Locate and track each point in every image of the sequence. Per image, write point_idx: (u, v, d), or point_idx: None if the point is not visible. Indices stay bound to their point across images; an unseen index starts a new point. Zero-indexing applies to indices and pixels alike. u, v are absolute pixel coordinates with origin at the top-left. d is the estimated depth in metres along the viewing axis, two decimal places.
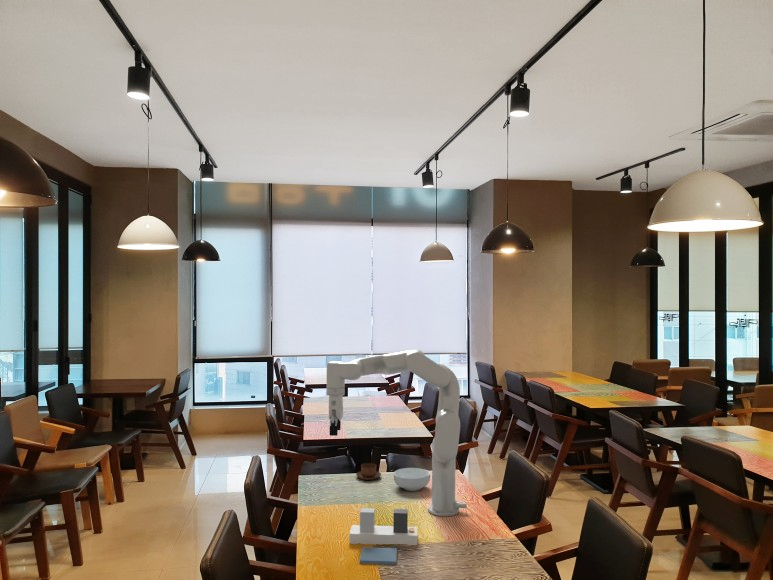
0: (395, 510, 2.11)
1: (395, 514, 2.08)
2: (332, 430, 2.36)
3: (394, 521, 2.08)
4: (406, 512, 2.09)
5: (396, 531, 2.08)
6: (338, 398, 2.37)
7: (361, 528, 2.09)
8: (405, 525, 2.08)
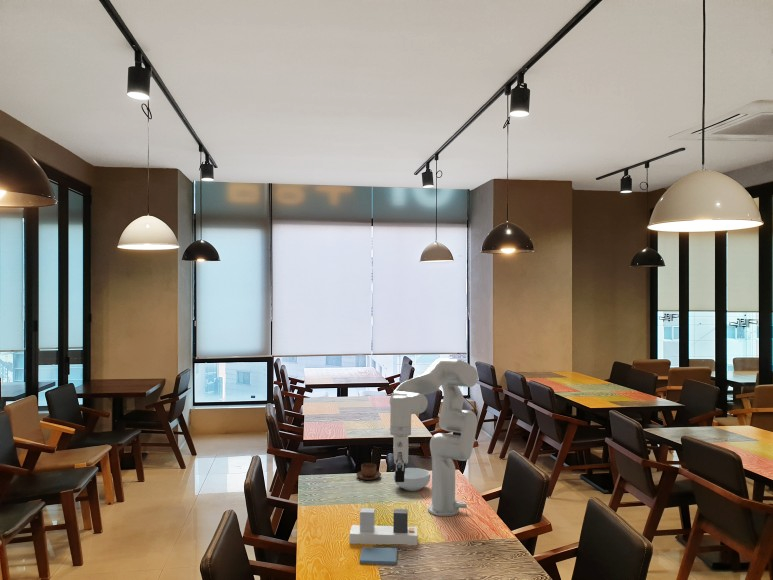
0: (395, 510, 2.11)
1: (395, 514, 2.08)
2: (398, 476, 2.05)
3: (394, 521, 2.08)
4: (406, 512, 2.09)
5: (396, 531, 2.08)
6: (405, 439, 2.06)
7: (361, 528, 2.09)
8: (405, 525, 2.08)
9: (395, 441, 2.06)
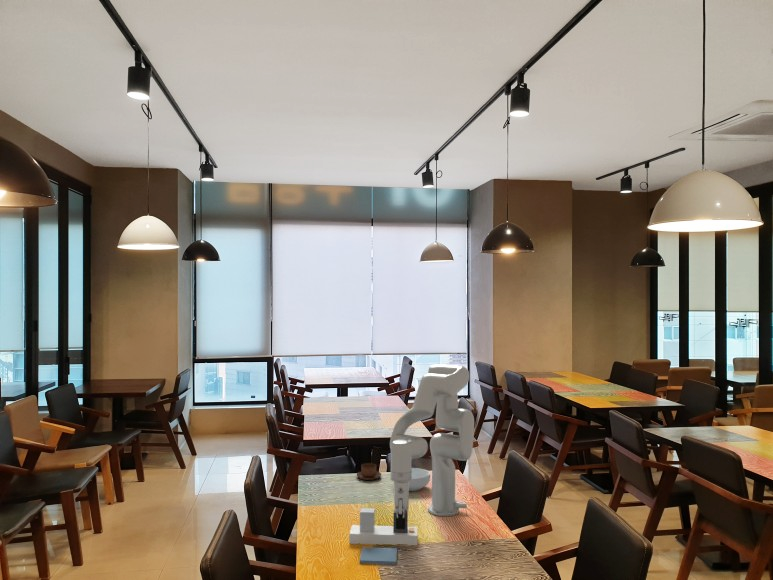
0: (395, 510, 2.11)
1: (395, 514, 2.08)
2: (399, 523, 2.07)
3: (394, 521, 2.08)
4: (406, 512, 2.09)
5: (396, 531, 2.08)
6: (405, 485, 2.06)
7: (361, 528, 2.09)
8: (405, 525, 2.08)
9: (396, 487, 2.06)
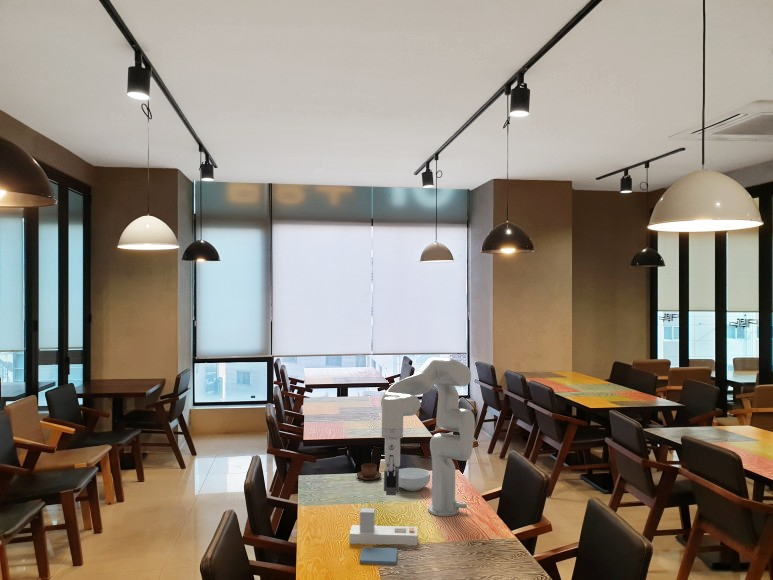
0: (386, 468, 2.05)
1: (386, 472, 2.02)
2: (390, 481, 2.01)
3: (385, 479, 2.02)
4: (397, 470, 2.03)
5: (387, 489, 2.02)
6: (396, 441, 2.00)
7: (361, 528, 2.09)
8: (396, 483, 2.02)
9: (386, 444, 2.00)
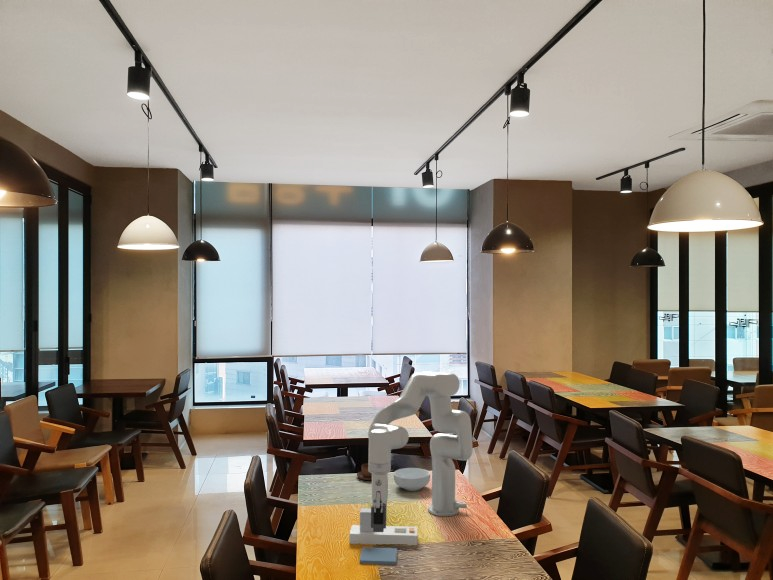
0: (373, 504, 1.97)
1: (373, 508, 1.94)
2: (377, 518, 1.93)
3: (372, 515, 1.94)
4: (385, 506, 1.95)
5: (374, 526, 1.94)
6: (384, 477, 1.92)
7: (361, 528, 2.09)
8: (383, 520, 1.94)
9: (373, 479, 1.92)
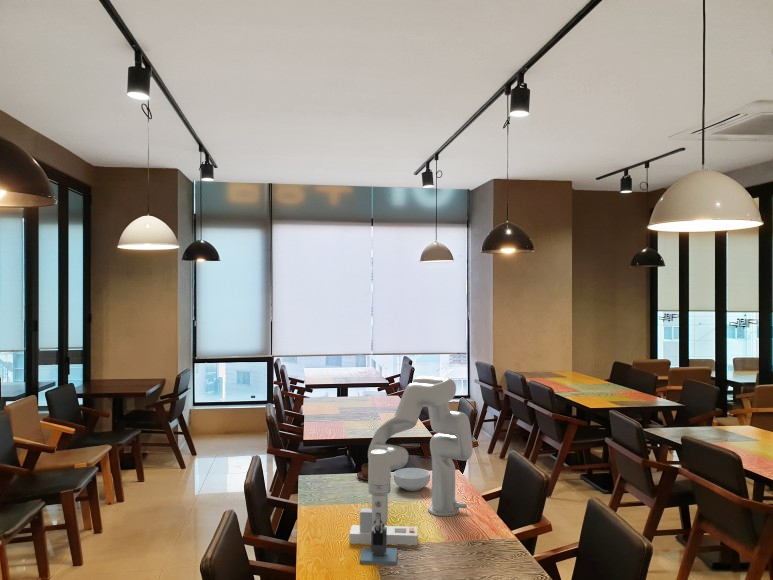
0: (373, 528, 1.97)
1: None
2: (377, 539, 1.91)
3: (372, 540, 1.95)
4: (385, 530, 1.95)
5: (374, 550, 1.94)
6: (384, 498, 1.92)
7: (361, 528, 2.09)
8: (383, 544, 1.94)
9: (373, 500, 1.92)
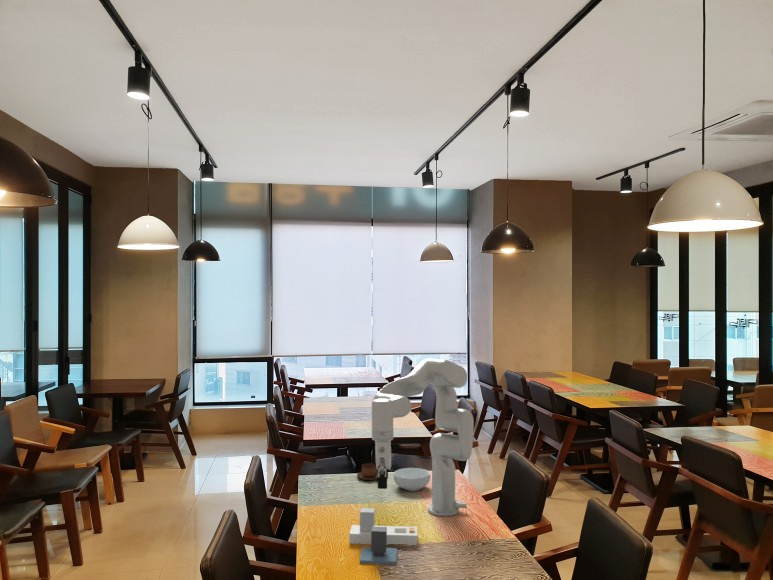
0: (373, 528, 1.97)
1: (373, 532, 1.95)
2: (381, 482, 1.98)
3: (372, 540, 1.95)
4: (385, 530, 1.95)
5: (374, 550, 1.94)
6: (387, 444, 1.99)
7: (361, 528, 2.09)
8: (383, 544, 1.94)
9: (377, 446, 1.99)
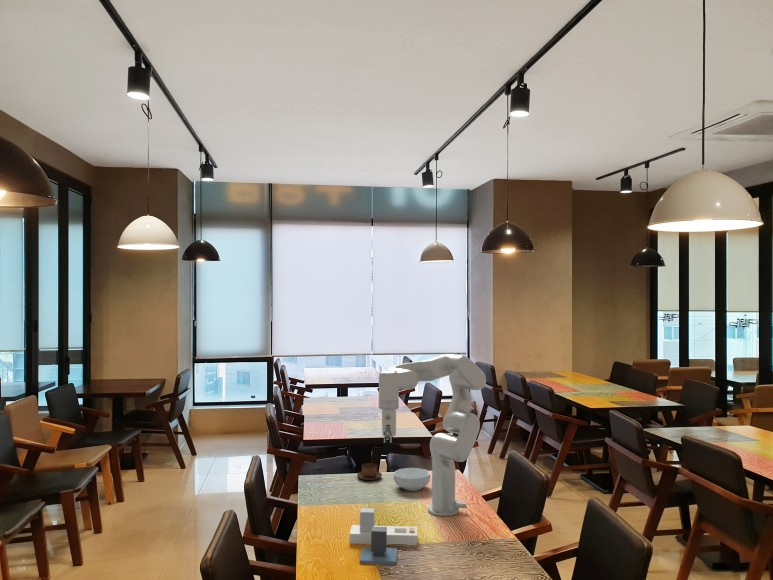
0: (373, 528, 1.97)
1: (373, 532, 1.95)
2: (386, 448, 2.13)
3: (372, 540, 1.95)
4: (385, 530, 1.95)
5: (374, 550, 1.94)
6: (393, 412, 2.14)
7: (361, 528, 2.09)
8: (383, 544, 1.94)
9: (383, 414, 2.14)
